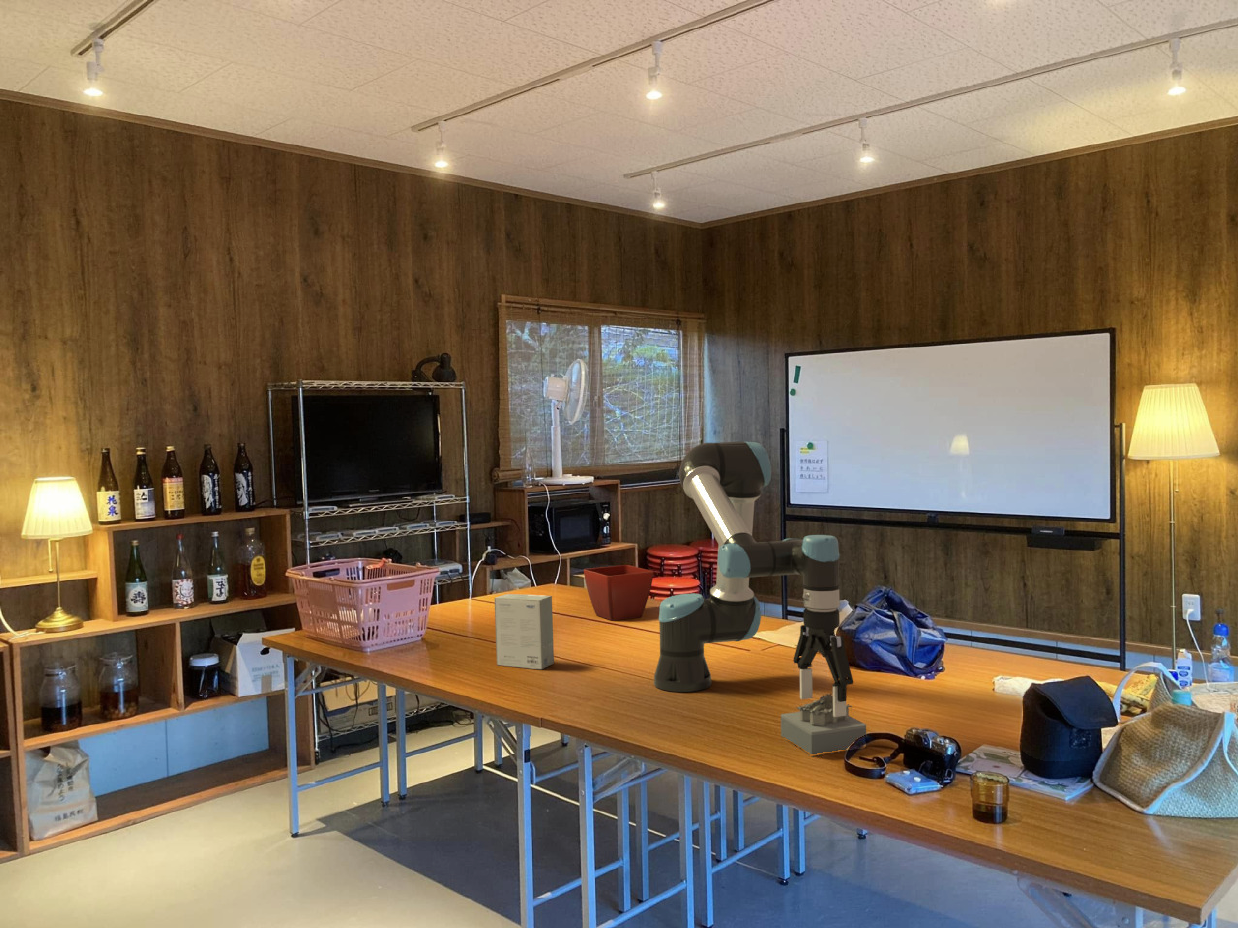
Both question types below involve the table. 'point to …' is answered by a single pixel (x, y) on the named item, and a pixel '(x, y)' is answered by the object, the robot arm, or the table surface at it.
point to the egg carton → (821, 711)
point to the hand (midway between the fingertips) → (822, 706)
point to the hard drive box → (524, 631)
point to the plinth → (821, 733)
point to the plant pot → (618, 591)
